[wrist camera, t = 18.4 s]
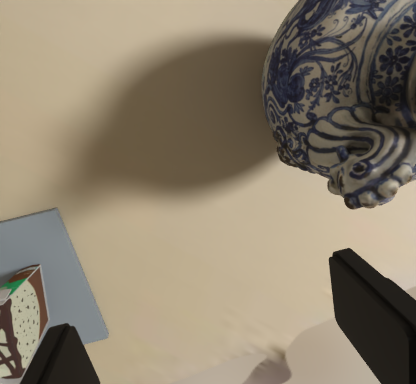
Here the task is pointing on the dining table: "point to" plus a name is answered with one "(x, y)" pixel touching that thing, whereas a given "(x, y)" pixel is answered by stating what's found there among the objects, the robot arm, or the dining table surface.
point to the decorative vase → (346, 95)
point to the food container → (21, 322)
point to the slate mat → (52, 270)
